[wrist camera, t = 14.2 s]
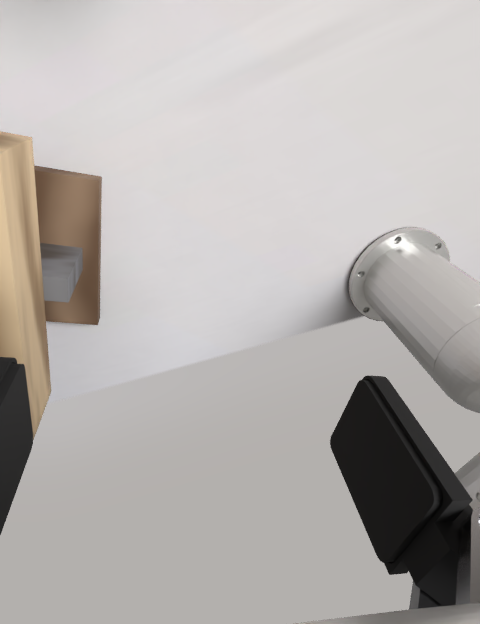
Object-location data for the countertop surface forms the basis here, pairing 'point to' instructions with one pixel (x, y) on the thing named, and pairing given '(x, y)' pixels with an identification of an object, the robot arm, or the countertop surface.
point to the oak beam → (22, 271)
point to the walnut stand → (69, 244)
